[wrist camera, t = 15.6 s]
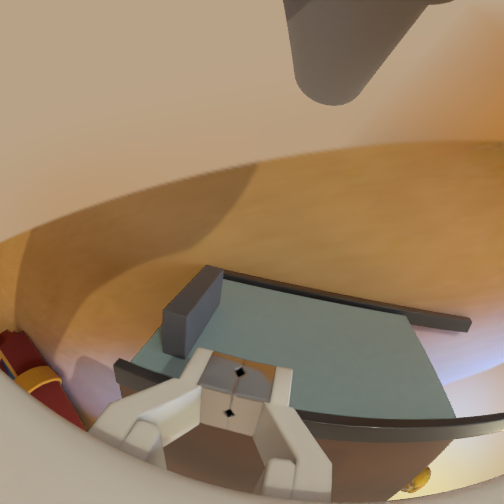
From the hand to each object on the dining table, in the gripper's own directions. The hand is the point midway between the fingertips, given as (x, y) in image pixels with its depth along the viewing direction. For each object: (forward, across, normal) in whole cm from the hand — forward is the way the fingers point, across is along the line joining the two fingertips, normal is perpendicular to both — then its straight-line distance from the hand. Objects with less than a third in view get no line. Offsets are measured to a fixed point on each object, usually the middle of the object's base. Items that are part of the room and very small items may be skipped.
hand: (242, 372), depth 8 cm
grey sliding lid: (+13, -3, +2) cm, 13 cm away
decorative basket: (+13, +37, +39) cm, 55 cm away
